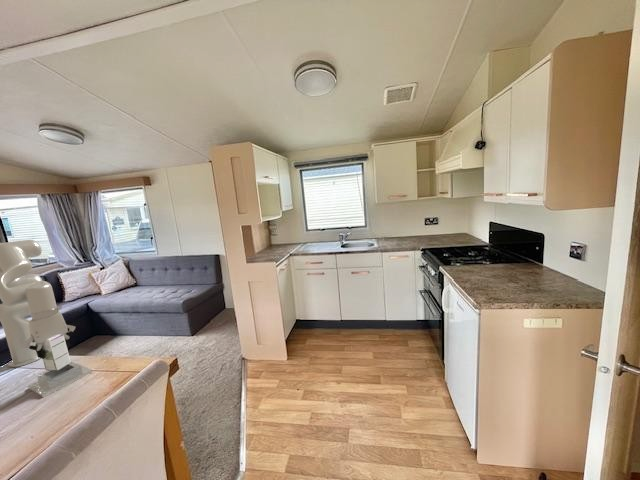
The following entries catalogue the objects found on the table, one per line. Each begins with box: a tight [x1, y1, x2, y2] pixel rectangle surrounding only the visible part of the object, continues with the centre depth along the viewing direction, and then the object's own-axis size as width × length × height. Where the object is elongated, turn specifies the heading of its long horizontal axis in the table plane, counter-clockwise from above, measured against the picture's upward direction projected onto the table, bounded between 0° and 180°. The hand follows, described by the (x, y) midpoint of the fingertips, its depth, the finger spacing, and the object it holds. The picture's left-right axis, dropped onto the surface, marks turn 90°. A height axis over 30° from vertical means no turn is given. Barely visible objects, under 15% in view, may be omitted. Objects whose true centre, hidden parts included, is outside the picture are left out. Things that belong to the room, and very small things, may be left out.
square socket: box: [27, 361, 93, 398], centre depth 110 cm, size 14×16×4 cm
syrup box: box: [41, 334, 72, 372], centre depth 108 cm, size 6×6×14 cm
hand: (54, 352), depth 108 cm, fingers closed on syrup box, 7 cm apart
